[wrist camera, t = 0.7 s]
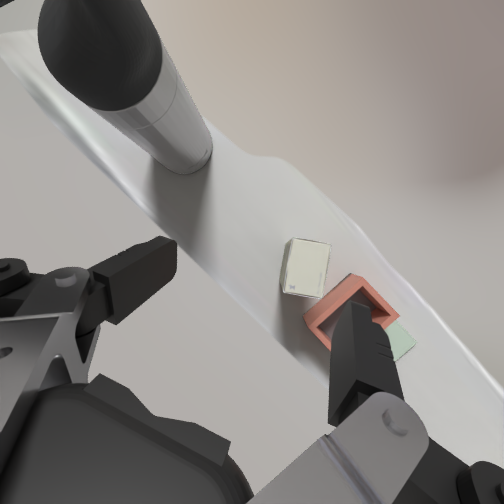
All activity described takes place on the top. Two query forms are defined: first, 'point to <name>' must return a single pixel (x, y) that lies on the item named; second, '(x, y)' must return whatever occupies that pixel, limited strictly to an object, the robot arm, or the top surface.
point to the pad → (399, 339)
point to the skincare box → (305, 267)
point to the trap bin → (332, 305)
